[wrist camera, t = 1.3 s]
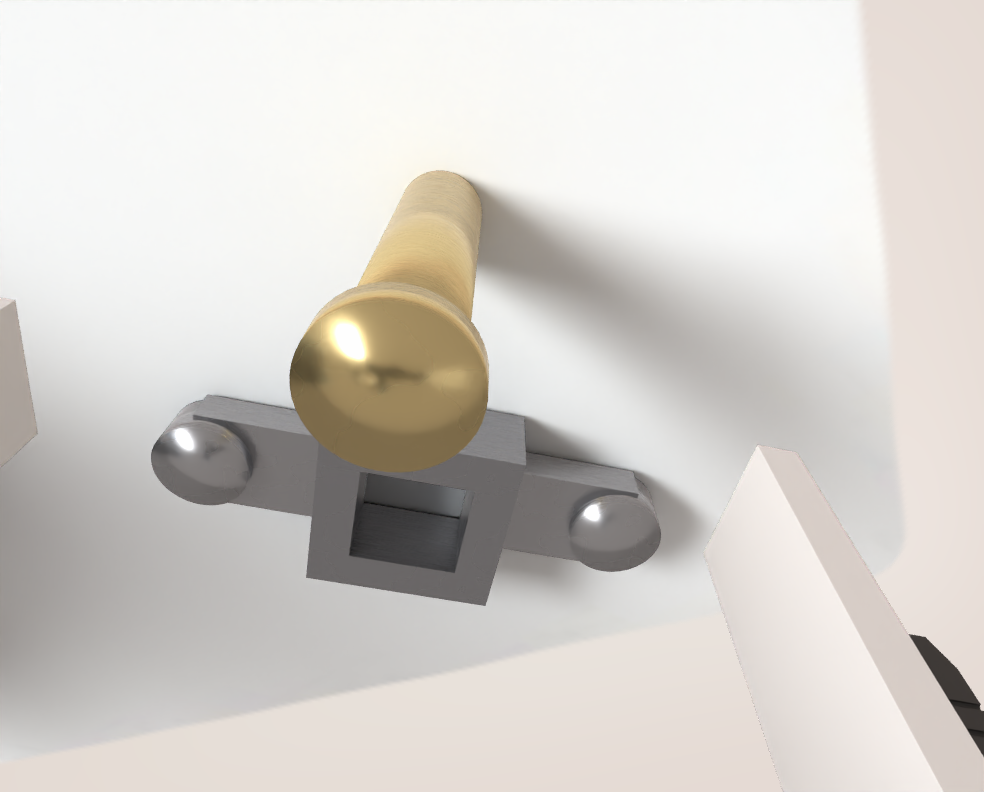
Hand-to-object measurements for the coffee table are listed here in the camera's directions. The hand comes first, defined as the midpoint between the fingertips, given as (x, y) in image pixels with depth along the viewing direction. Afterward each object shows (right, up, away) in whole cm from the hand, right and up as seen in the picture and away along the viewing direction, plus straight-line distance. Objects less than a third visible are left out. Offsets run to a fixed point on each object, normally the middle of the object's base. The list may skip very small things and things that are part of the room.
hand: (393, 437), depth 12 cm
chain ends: (-1, -3, +19) cm, 19 cm away
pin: (0, +8, +12) cm, 15 cm away
